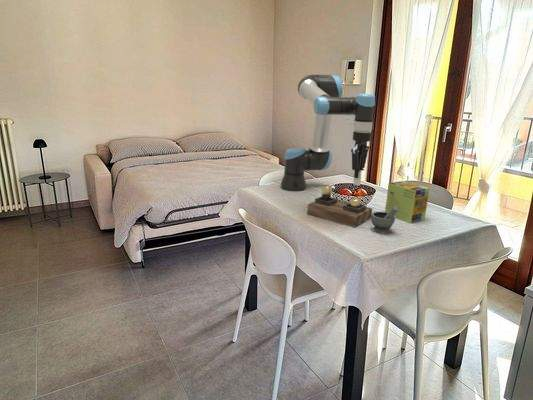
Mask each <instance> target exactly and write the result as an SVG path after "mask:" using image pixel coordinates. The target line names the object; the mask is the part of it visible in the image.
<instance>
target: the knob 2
mask: <svg viewBox="0 0 533 400" xmlns="http://www.w3.org/2000/svg"><path fill="white" fill-rule="evenodd" d="M349 203H350V207H353V208H357V209H358V208H360V204H361V198H359V197H351V198H350V201H349Z"/></svg>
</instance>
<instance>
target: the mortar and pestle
mask: <svg viewBox="0 0 533 400" xmlns="http://www.w3.org/2000/svg"><path fill="white" fill-rule="evenodd" d="M398 211H399V209H398V208H397V207H395V206H393V207H392V209H391V211H390V212H389V213H387V212H385V211H374V212H373V211H372V214H371V219H370V220H371V223H372V225H373V226H374V227H373V230H374V231H375V232H376V233H379V234H388V233H389V232H390V229H391V228H392V226H393V225H394V224H395V221H396V218H395V216H394V215H395V214H396V212H398Z"/></svg>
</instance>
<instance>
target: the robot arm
mask: <svg viewBox="0 0 533 400" xmlns="http://www.w3.org/2000/svg"><path fill="white" fill-rule="evenodd" d="M342 81H343V80H342V79H341V77H339V76H338V75H336V74H335V75H334V74H308V75H305V76H303V77H302V78H301V79H300V80H299V82H298V84H297V92H298V94H299V96H300V97H302V98H303V99H305V100H308V101H309V102H310V103H311V104H312V105H313V111H314V114H315V120H314V128H313V136H312V137H313V138H312V143H311V144H310V145H309V148H308V150H307V149H306V148H305V147H291V148H288V149H286V151H285V154H284V170H283V171H284V175H283V177H282V180H281V181H280V182H281V183H280V188H281V189H282V190H285V191H291V192H300V191H304V190H306V189H307V181H306V178H305V171H325V170H328V169H329V168H330V166H331V163H332V158H333V155H332V152H331V150H330V148H329V146H328V142H329V135H330V131H331V130H330V129H331V123H332V115H333V116H334V115H335V116H336V115H337V116H354V121H353V130H354V131H353V132H352V140H353V141H355V142H354V147H353V148H351V149H350V151H351V170H352V171H354V172H353V182H352V184H353V185H354V186H361V182H362V181H361V180H362V172H363V171H365V167H366V163H367V159H368V153H369V150H370V146H369V145H368V142H371V140H372V138H371V137H372V131H373V120H374V114H375V113H374V112H375V105H376V96H375V94H371V93H358V94H357V95H356V96H349V97H346V96H344V97H343V96H342V95H343V82H342Z"/></svg>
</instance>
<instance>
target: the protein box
mask: <svg viewBox="0 0 533 400" xmlns="http://www.w3.org/2000/svg"><path fill="white" fill-rule="evenodd" d="M430 190H431V189H430V187H428V186H424V185H420V184H417V183H412V182H408V181H405V180H401V181H394V182H389V183H388V187H387V193H386V194H387V195H386V200H385V201H386V202H385V207H384V208H385V209H384V212H387V213H389V212H390V211H391V209H392V207H393V206H395V207H397V208H398V209H399V211H398V212H396V214H395V215H394V216H395V219H398V220H401V221H405V222H407V223H409V224H413V223H417V222H420V221H424V220H425V219H426V213H427V207H428V200H429V193H430Z"/></svg>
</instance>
